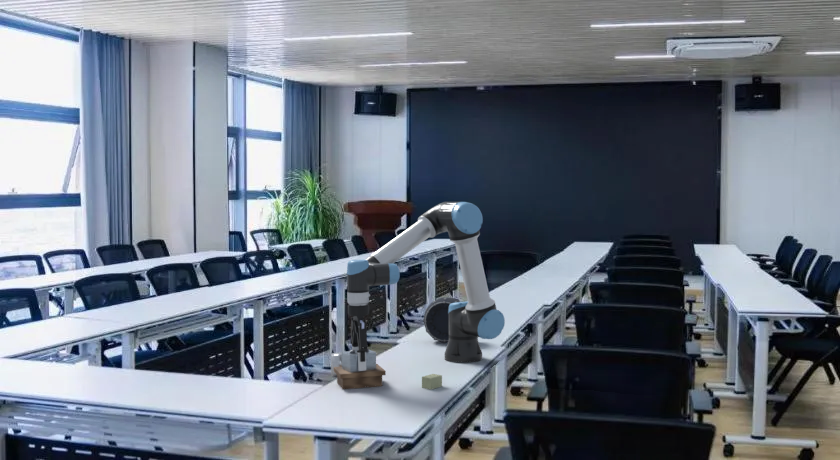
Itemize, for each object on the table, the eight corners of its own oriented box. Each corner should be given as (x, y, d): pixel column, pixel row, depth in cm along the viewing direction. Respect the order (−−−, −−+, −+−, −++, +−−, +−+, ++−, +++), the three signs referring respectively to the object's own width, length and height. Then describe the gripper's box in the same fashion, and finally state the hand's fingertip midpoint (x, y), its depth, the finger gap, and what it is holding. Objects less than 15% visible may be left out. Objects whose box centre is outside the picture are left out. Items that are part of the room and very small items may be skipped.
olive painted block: (433, 385, 294) (433, 373, 294) (442, 386, 291) (441, 375, 291) (421, 388, 290) (421, 376, 290) (430, 390, 287) (430, 378, 287)
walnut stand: (377, 378, 303) (377, 363, 303) (385, 386, 292) (385, 370, 292) (333, 382, 299) (333, 367, 299) (340, 390, 287) (340, 374, 287)
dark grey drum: (467, 345, 365) (466, 299, 364) (422, 343, 369) (421, 298, 368) (470, 340, 375) (470, 296, 374) (426, 339, 379) (426, 295, 378)
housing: (350, 372, 289) (350, 353, 289) (341, 368, 296) (341, 349, 295) (376, 369, 295) (375, 349, 294) (367, 365, 301) (366, 346, 300)
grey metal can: (345, 373, 313) (345, 352, 313) (349, 376, 308) (348, 355, 307) (329, 374, 312) (329, 353, 311) (332, 377, 306) (332, 356, 305)
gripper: (376, 307, 285) (376, 373, 286) (362, 299, 305) (362, 360, 306) (354, 308, 283) (355, 375, 284) (341, 300, 303) (342, 362, 304)
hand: (359, 367), depth 295 cm, fingers open, 9 cm apart
